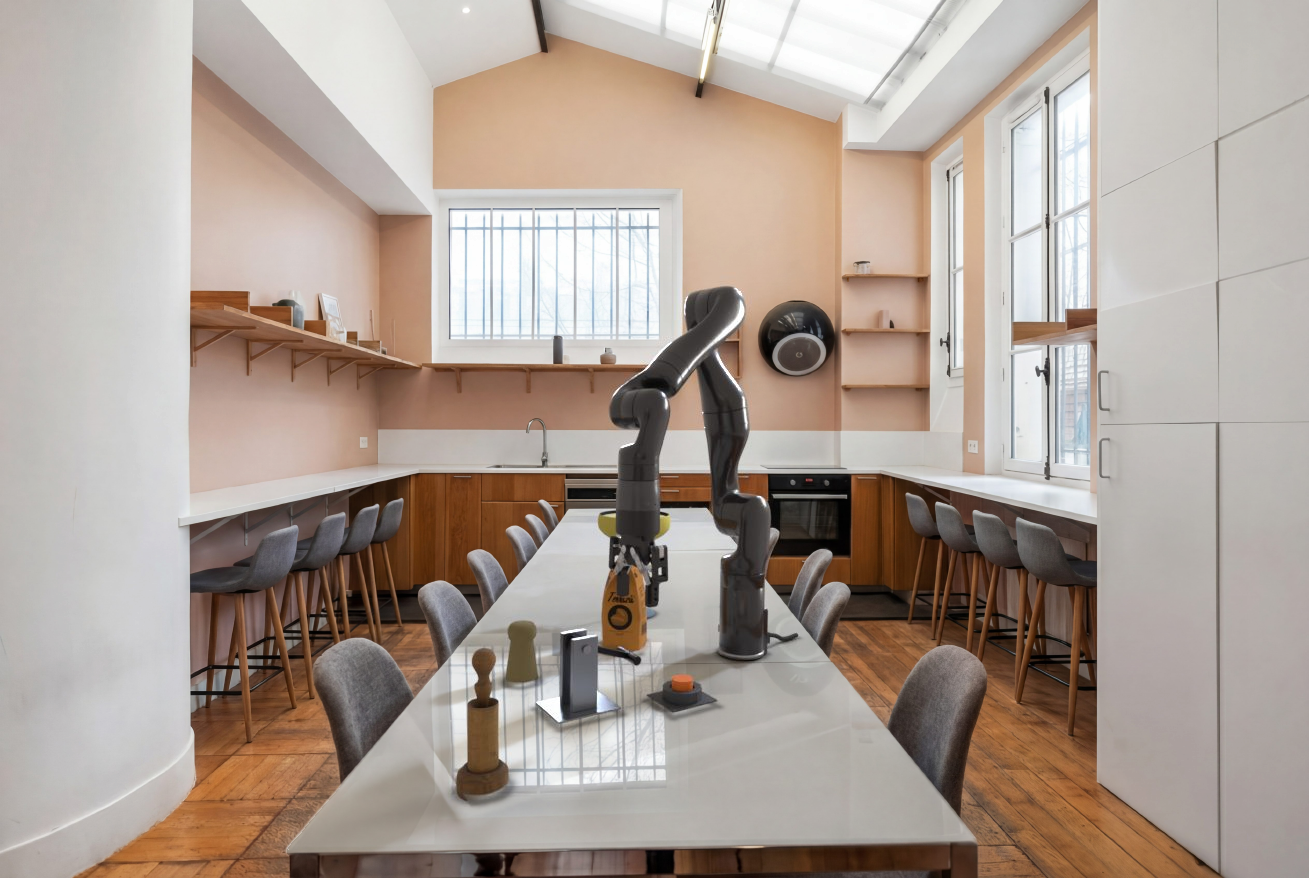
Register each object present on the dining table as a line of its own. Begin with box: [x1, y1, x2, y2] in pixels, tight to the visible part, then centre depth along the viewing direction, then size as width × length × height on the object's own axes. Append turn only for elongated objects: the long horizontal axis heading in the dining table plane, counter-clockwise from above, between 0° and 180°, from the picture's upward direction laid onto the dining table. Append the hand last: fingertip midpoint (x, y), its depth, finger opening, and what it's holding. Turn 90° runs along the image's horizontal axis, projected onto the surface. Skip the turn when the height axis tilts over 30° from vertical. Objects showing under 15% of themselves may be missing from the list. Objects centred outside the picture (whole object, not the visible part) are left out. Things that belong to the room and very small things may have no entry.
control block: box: [646, 680, 718, 713], centre depth 116 cm, size 9×8×3 cm
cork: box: [505, 619, 538, 684], centre depth 125 cm, size 6×6×11 cm
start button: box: [671, 673, 694, 691], centre depth 116 cm, size 4×4×2 cm
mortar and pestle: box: [455, 647, 510, 802], centre depth 88 cm, size 7×6×18 cm
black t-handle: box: [567, 635, 642, 667], centre depth 114 cm, size 12×6×2 cm, turn 123°
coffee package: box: [600, 560, 648, 652], centre depth 145 cm, size 10×12×22 cm
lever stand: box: [535, 628, 622, 724], centre depth 112 cm, size 11×9×13 cm
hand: (636, 601), depth 117 cm, fingers open, 8 cm apart
